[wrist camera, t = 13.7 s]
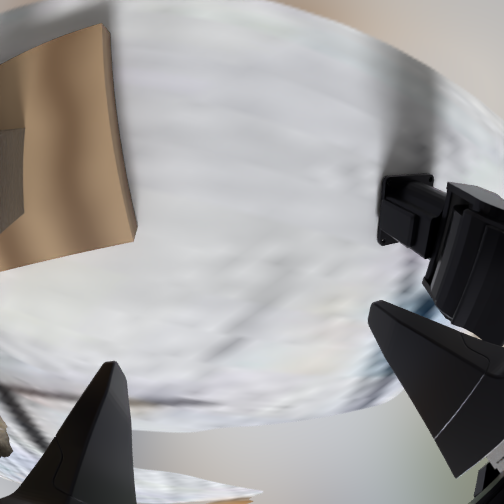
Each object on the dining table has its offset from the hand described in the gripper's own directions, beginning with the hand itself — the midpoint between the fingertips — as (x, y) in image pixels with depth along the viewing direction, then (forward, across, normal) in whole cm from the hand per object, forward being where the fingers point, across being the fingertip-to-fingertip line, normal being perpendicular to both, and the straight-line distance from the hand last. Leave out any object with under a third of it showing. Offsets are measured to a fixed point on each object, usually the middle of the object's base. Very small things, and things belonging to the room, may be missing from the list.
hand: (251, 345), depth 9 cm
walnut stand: (+13, +14, -7) cm, 20 cm away
